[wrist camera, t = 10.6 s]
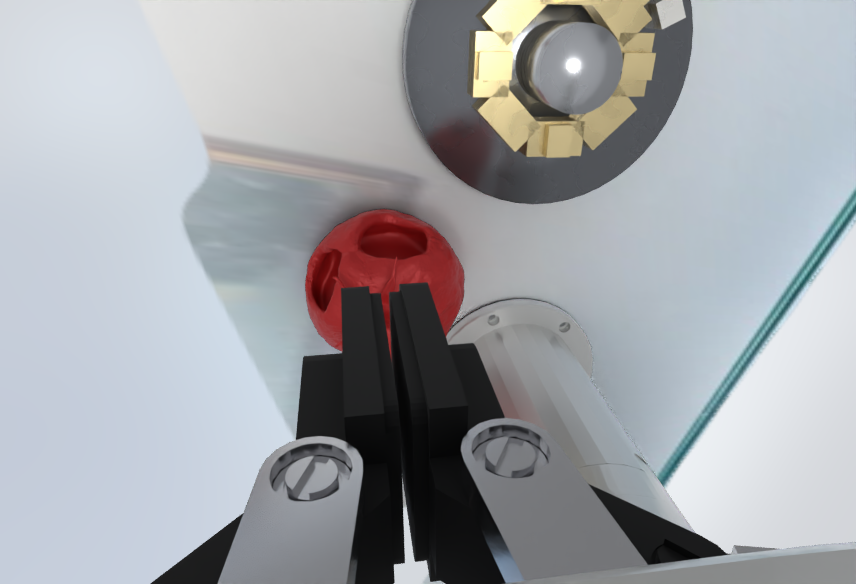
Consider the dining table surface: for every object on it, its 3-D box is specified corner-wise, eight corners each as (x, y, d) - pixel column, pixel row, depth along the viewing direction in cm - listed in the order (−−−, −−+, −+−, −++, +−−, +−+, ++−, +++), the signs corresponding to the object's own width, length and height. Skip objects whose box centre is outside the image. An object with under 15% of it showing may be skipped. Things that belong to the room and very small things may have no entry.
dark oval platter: (691, 140, 39) (752, 164, 34) (453, 231, 40) (473, 270, 34) (652, -159, 32) (723, -195, 26) (357, -41, 32) (362, -50, 26)
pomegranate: (474, 289, 42) (508, 359, 34) (352, 351, 43) (356, 434, 35) (413, 169, 38) (435, 215, 29) (277, 240, 39) (262, 305, 30)
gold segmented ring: (541, 183, 37) (574, 212, 32) (432, 62, 33) (449, 73, 28) (742, -6, 34) (815, -8, 28) (648, -167, 29) (713, -202, 24)
